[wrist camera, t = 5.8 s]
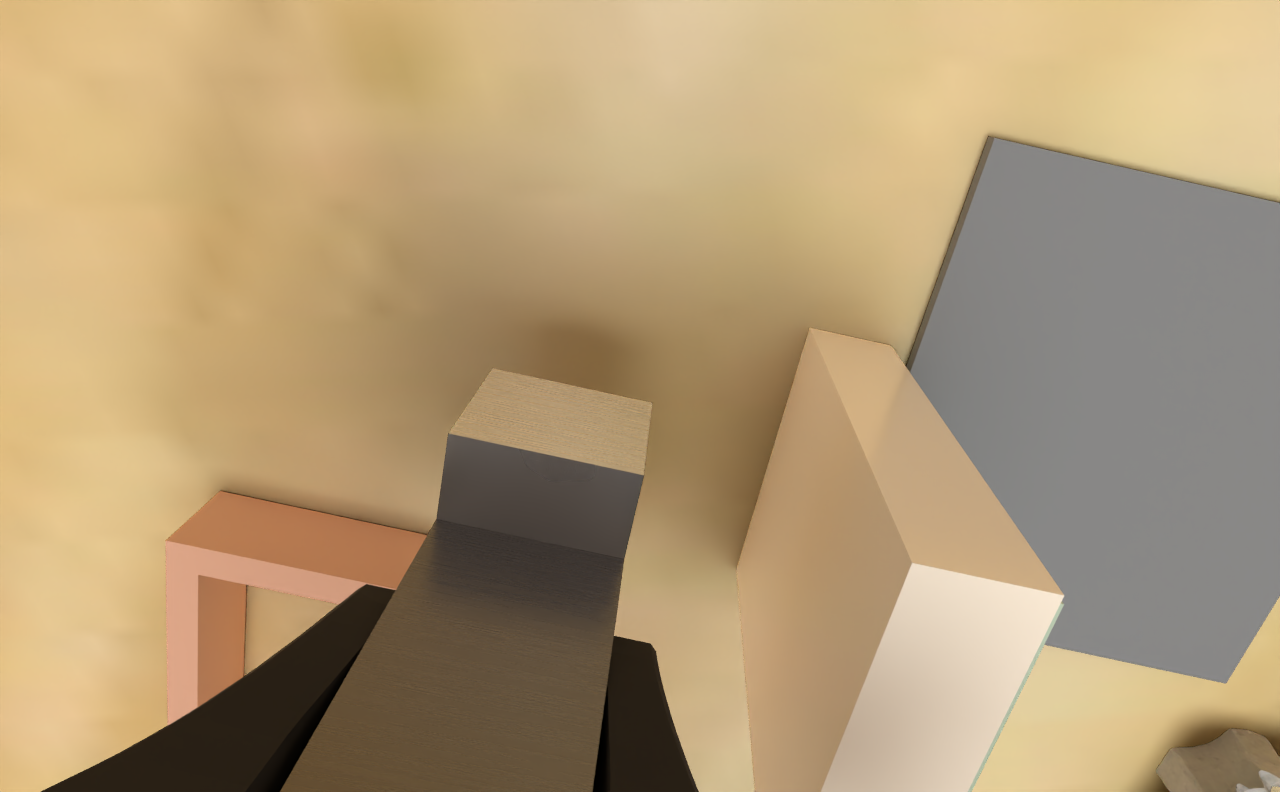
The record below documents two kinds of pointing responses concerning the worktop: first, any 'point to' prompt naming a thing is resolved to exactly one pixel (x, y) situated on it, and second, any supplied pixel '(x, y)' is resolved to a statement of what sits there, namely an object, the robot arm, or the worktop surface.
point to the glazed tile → (880, 589)
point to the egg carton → (1223, 765)
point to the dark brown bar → (498, 607)
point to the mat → (1120, 395)
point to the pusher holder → (259, 580)
